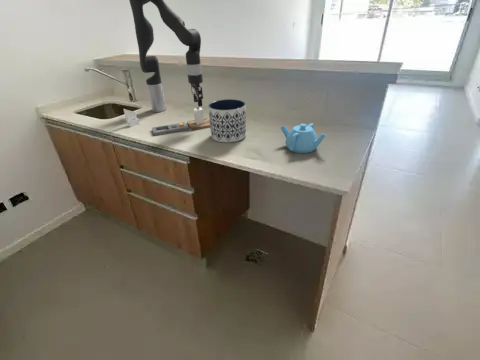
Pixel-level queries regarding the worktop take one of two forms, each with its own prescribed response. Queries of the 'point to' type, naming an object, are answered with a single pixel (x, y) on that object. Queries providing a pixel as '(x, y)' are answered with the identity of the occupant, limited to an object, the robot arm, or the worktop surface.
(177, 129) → the grey panel with cutout
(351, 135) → the worktop surface
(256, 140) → the worktop surface
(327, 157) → the worktop surface
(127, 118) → the crumpled white paper
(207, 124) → the walnut board
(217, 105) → the planter
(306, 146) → the teapot
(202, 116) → the block
